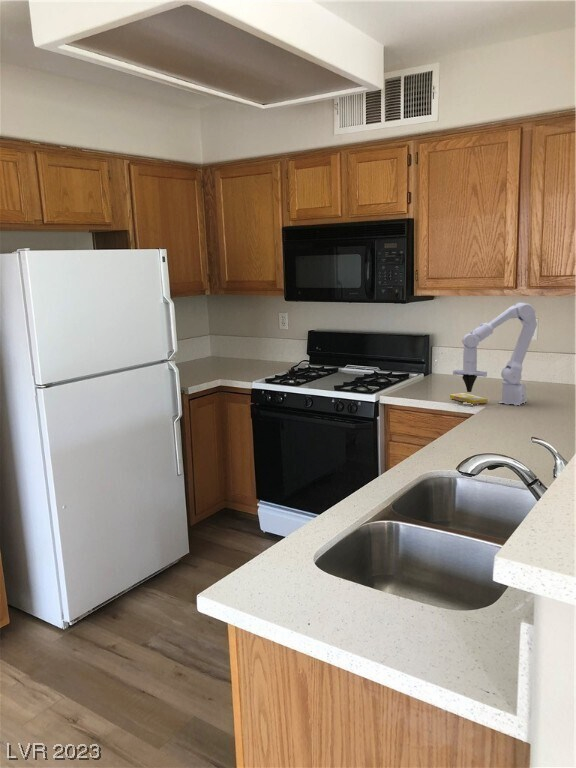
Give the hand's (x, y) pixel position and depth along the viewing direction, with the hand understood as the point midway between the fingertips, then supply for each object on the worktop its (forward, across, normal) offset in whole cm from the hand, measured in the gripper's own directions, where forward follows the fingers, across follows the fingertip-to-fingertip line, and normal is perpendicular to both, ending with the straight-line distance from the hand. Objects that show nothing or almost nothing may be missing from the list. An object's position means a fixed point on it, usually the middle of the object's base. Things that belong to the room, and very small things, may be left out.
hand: (469, 391), depth 271 cm
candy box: (+4, +4, -1) cm, 6 cm away
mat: (+5, 0, 0) cm, 5 cm away
